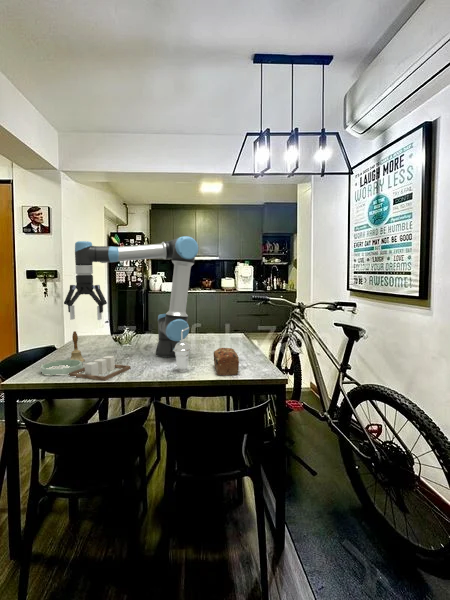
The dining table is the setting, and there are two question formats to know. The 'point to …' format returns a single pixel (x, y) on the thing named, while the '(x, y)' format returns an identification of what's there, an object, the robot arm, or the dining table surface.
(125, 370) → the tray
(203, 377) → the dining table surface
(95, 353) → the dining table surface
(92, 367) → the white rectangular block
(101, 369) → the white block
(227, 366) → the bread
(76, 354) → the hand bell
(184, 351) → the cup with straw
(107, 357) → the white upright block
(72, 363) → the bowl
